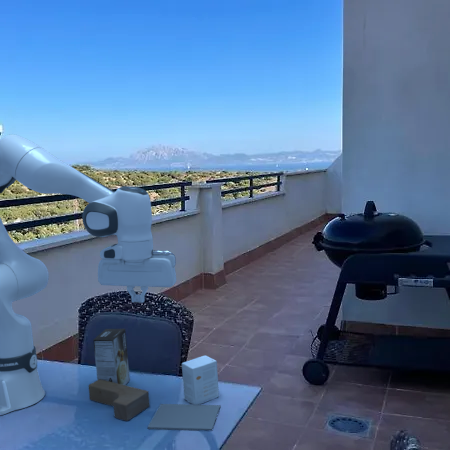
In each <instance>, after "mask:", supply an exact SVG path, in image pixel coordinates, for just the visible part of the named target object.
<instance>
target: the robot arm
mask: <svg viewBox="0 0 450 450" xmlns="http://www.w3.org/2000/svg"><path fill="white" fill-rule="evenodd" d="M16 181H18V183H20V184H22V185H23V186H24V187H26V188H27V189H30V190H32V191H34V192H37V193H40V194H46V195H47V194H49V195H50V194H58V195H59V194H60V195H68V196H69V195H71V196H75V197H77V198H79V199H81V200H83V201H85V202H87V203H88V204H87V205H86V206H85V207H84V209H83V211H82V218H81V219H82V224H83V227H84V228H85V230H86V231H87V232H88V233H89V235H91V236H93V237H97V238H98V237H99V238H105V237H108V236H111V235H115V236H116V237H117V243H115V244H112V245H110V246H108V247H105V248H103V249H101V250H100V252H99V257H100V258H101V259H100V260H99V262H98V265H97V267H98V268H97V281H98V283H99V284H100V286H116V287H117V286H118V287H126V291H127V293H129V295H130V297H131V303H135V304H137V303H139V304H143V303H145V295H146V293H147V291H148V289H149V288H153V287H154V288H172V287H173V286H174V285H175V284H176V282H177V273H176V268H175V266H176V265H177V263H176V262H177V261H176V260H177V259H176V256H175V254H174V253H173V252H171V251H170V250H158V249H157V250H156V249H154V237H153V234H152V223H153V215H152V214H153V213H152V212H153V211H152V203H151V198H150V195H149V193H148V191H146V190H145V189H144V188H141V187H138V186H133V185H132V186H129V185H125V186H121V187H120V186H119V187H118V188H117V189H116V191H115V190H112V189H111V188H109V187H107V185H104V184H102V183H100V181H98V180H95V179H94V178H93V177H91V176H89V175H87V174H86V173H83V172H81V171H80V170H79V169H78V170H77V169H76V168H74V167H73V166H71V165H69V164H68V163H65V162H64V161H62V160H61V159H60V158H58V157H56V156H54V155H53V154H52V153H50V152H49V151H47V150H46V149H45V148H43V147H42V146H40V145H38V144H37V143H35V142H33V141H31V140H29V139H28V138H25V137H23V136H21V135H19V134H13V133H12V134H7V135H4V136H3V137H1V138H0V194H2V193H4V191H5V190H6V189H8V188H9V187H11V186H12V185H13V184H14V183H15V182H16ZM49 277H50V274H49V270H48V268H47V265H45V263H44V262H43V261H42V260H41V259H38V258H37V257H33V256H31V255H29V254H28V253H26V252H25V251H24V250H23V249H21V248H20V247H19V246H18V245H17V244H16V243H15V242H14V241H13V239H12V238H11V236H10V234H9V233H8V231H7V229H6V227H5V224H4V223H3V220H2V218H1V217H0V416H3V415H5V414H9V413H10V412H13V411H17V410H21V409H24V408H27V407H30V406H33V405H34V404H37V403H39V402H40V401H41V400H43V398H44V397H45V395H46V391H45V389H44V387H43V385H42V382H41V379H40V375H39V371H38V357H37V350H36V346H35V345H34V336H33V328H32V323H31V320H30V319H29V318H27V317H26V316H25V315H23V314H19V313H16V312H15V311H14V308H13V305H12V304H13V303H14V302H15V301H19V300H23V299H26V298H30V297H32V296H34V295H37V293H39V292H41V291H43V290H44V289H46V288H47V286H48V283H49ZM135 287H140V291H141V293H140V294H136V291H135Z"/></svg>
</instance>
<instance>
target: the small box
mask: <svg viewBox="0 0 450 450" xmlns="http://www.w3.org/2000/svg"><path fill="white" fill-rule="evenodd" d="M181 369H182V371H181V372H182V373H181V374H182V383H183V395H184V396H183V399H184V400H185V401H186V402H188V403H189V404H190V405H203V404H204V403H206V402H209V401H212V400H214V399H217V398H219V397H220V391H219V377H218V376H219V375H218V362H217V360H215V359H214V358H212V357H209V356H208V355H206V354H205V355H202V356H198V357H195V358H193V359H191V360H190V359H189V360H187V361H183V362H182V363H181Z"/></svg>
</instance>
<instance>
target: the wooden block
mask: <svg viewBox="0 0 450 450" xmlns="http://www.w3.org/2000/svg"><path fill="white" fill-rule="evenodd" d="M88 393H89V400H90V401H93V402H97V403H101V404H103V405H106V406H107V405H108V406H112V407H113V413H114V414H113V416H114V418H115V419H119V420H122V421H125V422H128V421H130V420H131V419H133V418H134V417H135V416H137V415H138V414H140V413H142V412H144V410H146V409H148V408H149V407H150V397H149V395H150V394H149V391H148V390H146V389H141V388H138V387H133V386H129V385H127V384H126V385H122V384H118V383H114V382H110V381H106V380H101V379H99V380H95V381H93V382H91V383H90V384H88Z"/></svg>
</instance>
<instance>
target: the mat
mask: <svg viewBox="0 0 450 450" xmlns="http://www.w3.org/2000/svg"><path fill="white" fill-rule="evenodd" d="M220 409H221V404H199V405H193V404H190V403H189V404H184V403H183V404H181V403H180V404H178V403H177V404H176V403H160V404H159V407H158V408H157V410H156V411H155V413H154V415H153V417H152V418H151V420H150V422H149V424H148V425H147V430H166V431H167V430H168V431H170V430H172V431H175V430H176V431H199V430H212V429H214V427H215V424H216V421H217V418H216V417H218V415H217V414H219V412H220ZM215 420H216V421H215ZM214 423H215V424H214ZM213 426H214V427H213ZM212 431H213V430H212Z"/></svg>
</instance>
